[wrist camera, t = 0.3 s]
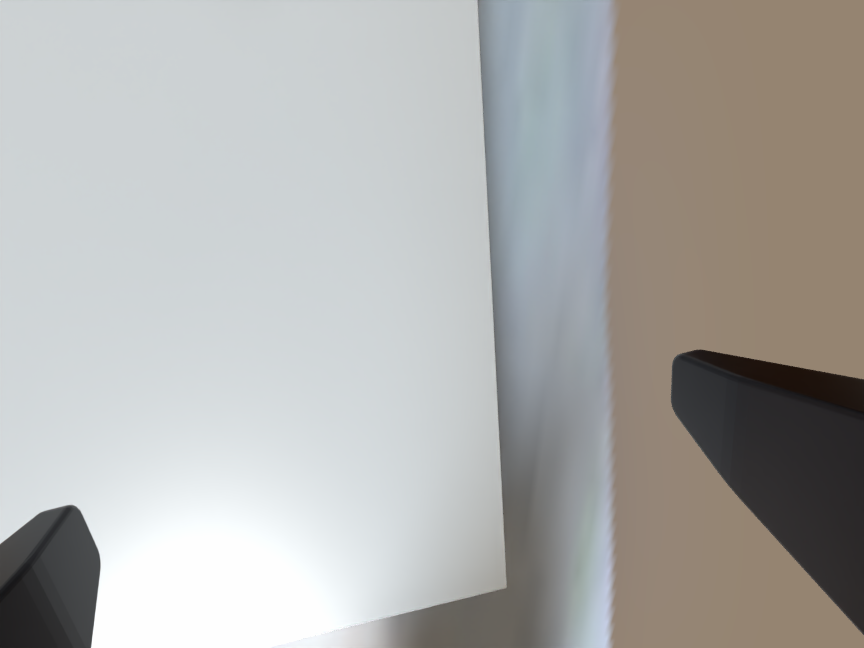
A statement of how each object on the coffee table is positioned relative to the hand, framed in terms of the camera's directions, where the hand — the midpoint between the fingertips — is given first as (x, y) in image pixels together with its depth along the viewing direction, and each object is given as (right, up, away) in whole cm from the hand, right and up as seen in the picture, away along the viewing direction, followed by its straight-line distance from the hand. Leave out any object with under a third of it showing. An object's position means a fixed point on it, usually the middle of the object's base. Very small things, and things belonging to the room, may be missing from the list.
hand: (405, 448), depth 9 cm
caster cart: (-6, +2, +13) cm, 15 cm away
